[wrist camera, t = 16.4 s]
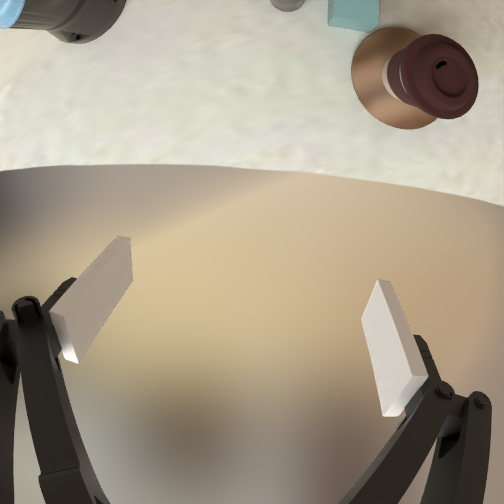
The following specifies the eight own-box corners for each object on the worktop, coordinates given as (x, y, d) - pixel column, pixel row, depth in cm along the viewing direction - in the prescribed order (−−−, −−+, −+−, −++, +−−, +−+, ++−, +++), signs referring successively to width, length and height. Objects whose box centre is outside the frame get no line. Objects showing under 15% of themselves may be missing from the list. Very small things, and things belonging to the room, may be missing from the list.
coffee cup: (432, 113, 39) (485, 126, 26) (372, 107, 40) (410, 115, 27) (431, 52, 35) (484, 43, 21) (370, 43, 36) (406, 24, 23)
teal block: (327, 25, 36) (333, 16, 31) (328, -9, 34) (334, -21, 28) (367, 32, 36) (378, 25, 31) (368, -2, 33) (378, -13, 28)
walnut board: (328, 66, 39) (329, 65, 38) (402, 11, 33) (405, 10, 32) (396, 148, 44) (398, 149, 43) (463, 93, 38) (467, 93, 37)
